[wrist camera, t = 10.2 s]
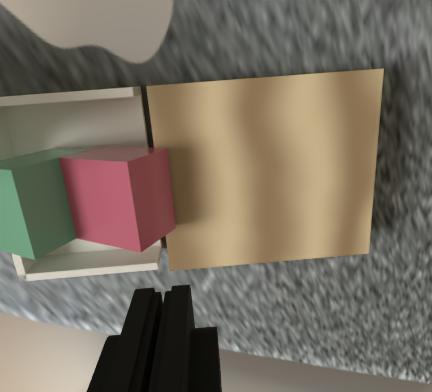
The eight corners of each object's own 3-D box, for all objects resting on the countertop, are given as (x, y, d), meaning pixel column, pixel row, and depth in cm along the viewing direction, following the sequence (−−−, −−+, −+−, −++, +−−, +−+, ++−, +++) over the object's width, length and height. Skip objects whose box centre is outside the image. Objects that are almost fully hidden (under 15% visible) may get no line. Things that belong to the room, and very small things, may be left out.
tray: (140, 86, 26) (132, 87, 23) (162, 248, 31) (158, 269, 28) (-4, 97, 26) (-34, 99, 23) (39, 259, 31) (19, 281, 27)
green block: (10, 170, 20) (-27, 166, 22) (35, 260, 22) (-2, 249, 24) (89, 149, 25) (53, 147, 27) (103, 224, 27) (68, 218, 29)
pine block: (357, 70, 27) (383, 68, 23) (348, 232, 31) (368, 253, 28) (153, 85, 26) (146, 86, 23) (173, 247, 31) (170, 270, 27)
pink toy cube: (166, 148, 24) (127, 161, 20) (175, 228, 25) (141, 252, 22) (102, 146, 26) (58, 157, 23) (115, 218, 28) (76, 238, 25)
